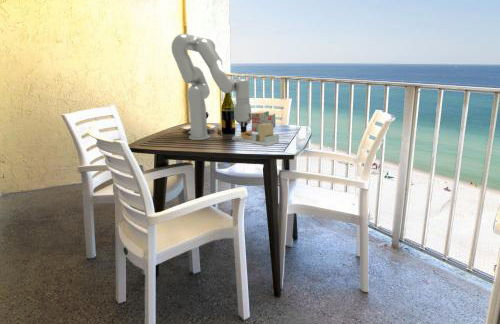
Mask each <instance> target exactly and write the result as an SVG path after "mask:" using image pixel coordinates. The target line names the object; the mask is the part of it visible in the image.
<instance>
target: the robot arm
mask: <svg viewBox="0 0 500 324" xmlns="http://www.w3.org/2000/svg"><path fill="white" fill-rule="evenodd" d="M188 51H193V52H196V53H199V56H201V58H202V60H203V61H204V63H205V64H206V65H207V67H208V69H209V72H210V75H211V77H212V79H213V81H214V83H215V84H216V86H217V87H218V89H219V90H220V91H221V92H223V93H224V94H230V93H232V92H233V93H234V92H235V101H236V103H235V105H234V115H233V116H234V121H236V123H238V124H239V127H240V133H241V132H245V131H248V130H247V127H248V125H249V124H252V109H251V108H252V107H251V104H250V81H249V80H248V78H239V79H235V78H229V77H228V76H227V74H226V73H225V71H224V68H223V60H222V58H221V57H220V55H219V54H218V52H217V51H216V44H215V42H214V41H213V40H211V39H209V38H204V37H200V36H197V35H192V34H188V33H179V34H177V35H176V36H175V37H174V39H173V40H172V42H171V54H172V56H173V59H174V60H175V63H176V66H177V68H178V71H179V73H180V75H181V78H182V79H183V81H184V82H185V83H186V84H191V86H190V87H189V88H188V89H187V93H186V95H187V100H188V107H189V108H188V109H189V121H190V130H189V131H188V132H187V133H188V134H190V135H189V136H188V140H192V141H201V140H202V141H203V140H208V139H210V138H211V135H209V134H208V127H207V126H208V123H207V122H208V121H207V107H206V102H205V100H206V99H207V98H208V97H209V96H210V87H209V85H208V82H207V79H206V77H205V75H204V73H203V70H201V68H200V67H197V66H196V65H195V66H194V63H193V61H192V59H191V57H190V55H189V54H188Z"/></svg>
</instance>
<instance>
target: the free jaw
mask: <svg viewBox="0 0 500 324" xmlns="http://www.w3.org/2000/svg"><path fill="white" fill-rule="evenodd" d="M240 135H241V138H245V137H249V136H253V140H255V141H257V140H258V133H252V130H247V131H245V132H241V131H240Z"/></svg>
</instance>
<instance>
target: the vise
mask: <svg viewBox="0 0 500 324" xmlns="http://www.w3.org/2000/svg"><path fill="white" fill-rule="evenodd" d="M231 139H232V141H237V142H243V143H248V144H256V145H260V146H266V147H268V146H272V145H276V144H279V143H280V134H273V135H271V136H267V137H264V142H262V141H258V140H257V141H255V140H253V136H249V137H245V138H241V134H240V135H236V136H235V135H234V136H232V137H231Z"/></svg>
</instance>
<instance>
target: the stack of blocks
mask: <svg viewBox="0 0 500 324" xmlns="http://www.w3.org/2000/svg"><path fill="white" fill-rule="evenodd" d="M251 114H252V119H251V131H254V132H253V133H258V125H259V124H264V123H271V124H273V129H275V128H276V113H270V111H269V110H257V111H254V112H251Z"/></svg>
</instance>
